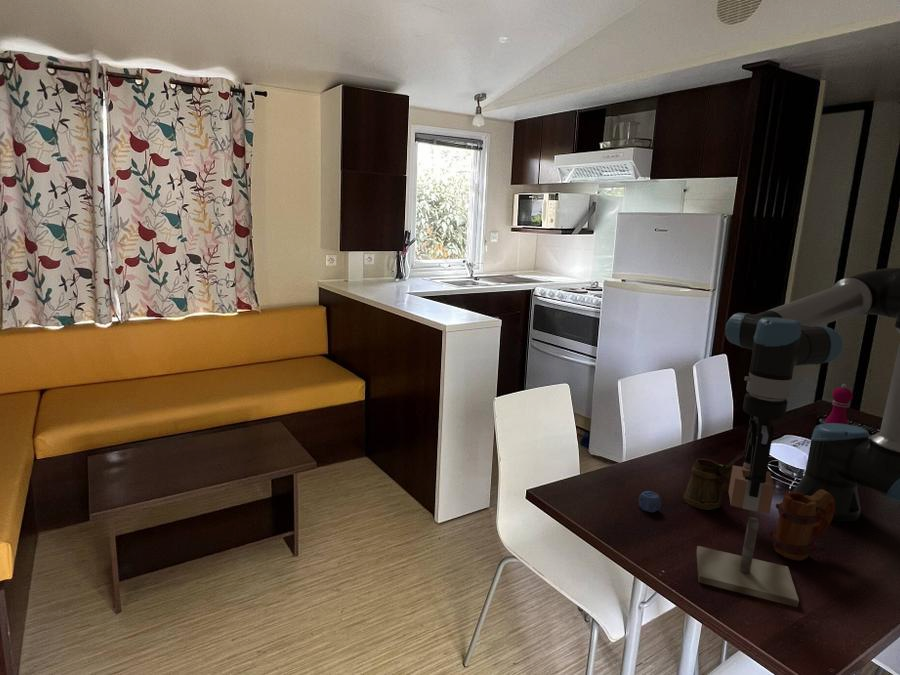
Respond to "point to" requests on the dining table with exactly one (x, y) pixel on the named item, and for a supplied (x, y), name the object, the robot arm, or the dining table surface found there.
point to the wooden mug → (708, 483)
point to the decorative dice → (649, 501)
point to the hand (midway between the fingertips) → (748, 500)
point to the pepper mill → (840, 405)
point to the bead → (739, 486)
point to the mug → (802, 523)
